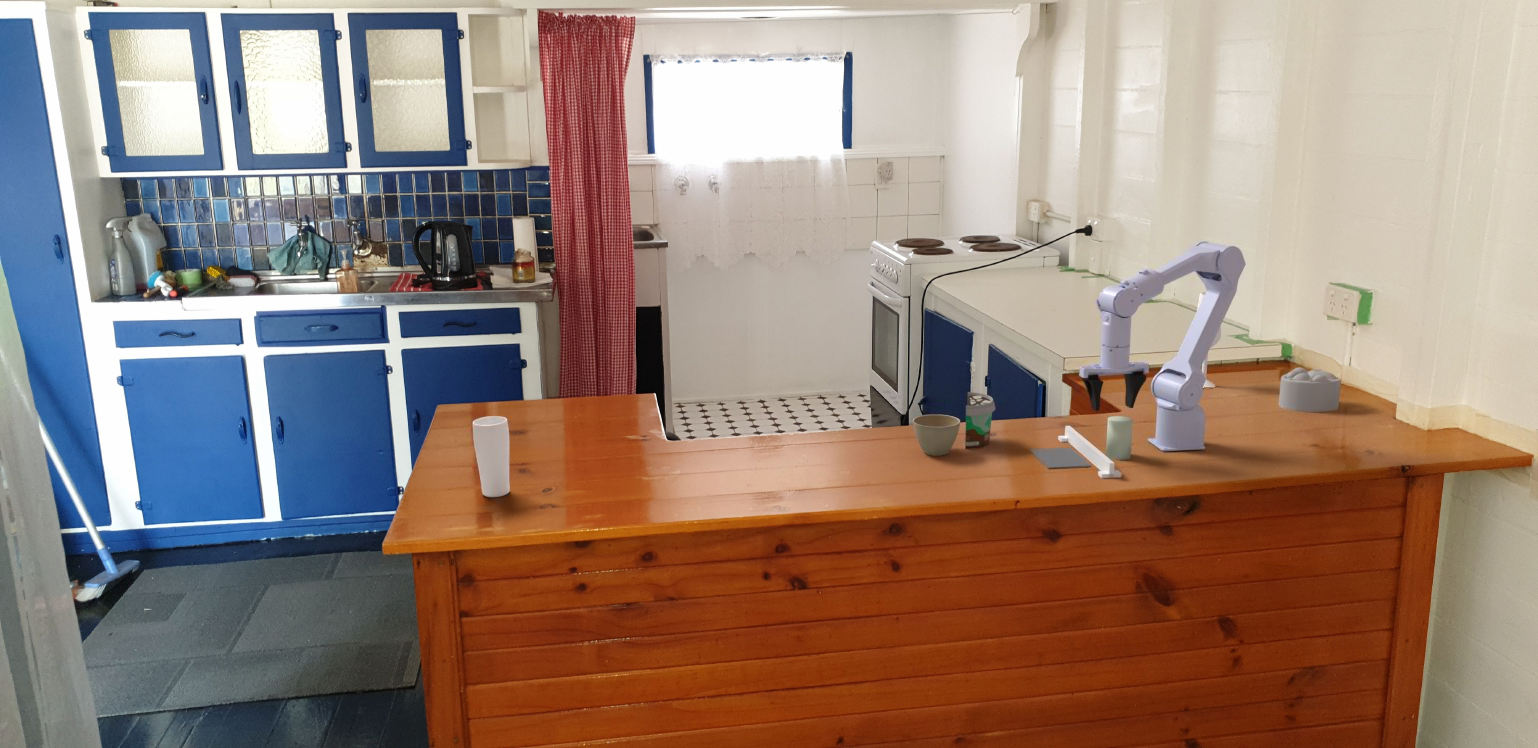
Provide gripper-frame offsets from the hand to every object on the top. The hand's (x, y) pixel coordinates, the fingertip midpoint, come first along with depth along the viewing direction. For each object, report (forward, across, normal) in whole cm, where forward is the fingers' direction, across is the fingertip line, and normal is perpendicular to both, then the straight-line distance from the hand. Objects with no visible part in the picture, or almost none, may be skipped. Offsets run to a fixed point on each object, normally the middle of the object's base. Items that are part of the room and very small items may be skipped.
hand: (1112, 408), depth 233 cm
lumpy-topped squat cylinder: (+11, -62, -23) cm, 67 cm away
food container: (+10, +23, -15) cm, 29 cm away
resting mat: (+10, +11, 0) cm, 15 cm away
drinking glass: (+10, +126, -8) cm, 127 cm away
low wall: (+10, +5, 0) cm, 11 cm away
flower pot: (+10, +34, -11) cm, 38 cm away
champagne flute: (+11, -50, -46) cm, 69 cm away
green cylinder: (+10, -1, +1) cm, 10 cm away
